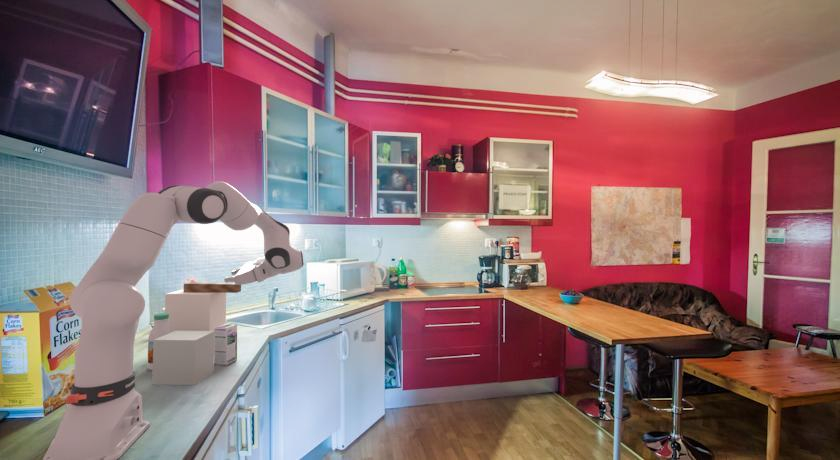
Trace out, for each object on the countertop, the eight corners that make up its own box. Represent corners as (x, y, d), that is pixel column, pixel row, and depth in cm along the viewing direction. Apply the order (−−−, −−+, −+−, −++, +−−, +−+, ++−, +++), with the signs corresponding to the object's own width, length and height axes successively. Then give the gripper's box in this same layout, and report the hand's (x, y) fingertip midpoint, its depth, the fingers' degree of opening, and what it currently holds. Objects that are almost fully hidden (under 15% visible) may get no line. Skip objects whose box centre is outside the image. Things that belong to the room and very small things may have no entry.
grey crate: (213, 371, 128) (214, 331, 128) (194, 385, 117) (195, 340, 117) (174, 371, 127) (175, 330, 127) (152, 384, 116) (153, 339, 116)
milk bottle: (143, 368, 130) (144, 314, 130) (166, 361, 137) (167, 310, 137) (154, 372, 126) (155, 317, 126) (177, 365, 133) (178, 313, 133)
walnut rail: (240, 291, 149) (241, 283, 149) (236, 292, 145) (236, 284, 145) (188, 290, 148) (189, 282, 148) (183, 292, 145) (183, 283, 145)
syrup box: (226, 365, 134) (227, 327, 134) (213, 364, 135) (214, 326, 135) (237, 360, 140) (237, 323, 140) (224, 358, 141) (225, 323, 141)
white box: (225, 348, 153) (226, 289, 153) (208, 358, 141) (210, 294, 141) (183, 348, 152) (184, 288, 153) (163, 358, 140) (165, 293, 141)
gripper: (266, 254, 153) (233, 262, 151) (256, 267, 134) (218, 277, 131) (270, 267, 155) (237, 275, 152) (261, 283, 135) (223, 292, 133)
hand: (228, 276), depth 142 cm, fingers open, 8 cm apart
